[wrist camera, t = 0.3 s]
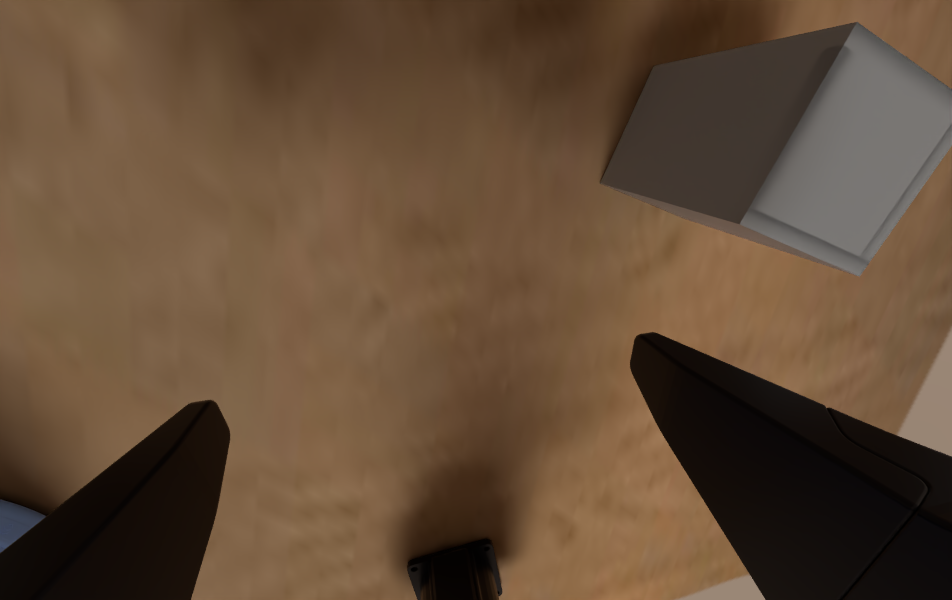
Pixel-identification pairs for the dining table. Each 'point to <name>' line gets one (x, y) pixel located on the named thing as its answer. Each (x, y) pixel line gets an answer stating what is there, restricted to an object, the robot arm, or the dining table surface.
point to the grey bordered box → (789, 142)
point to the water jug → (15, 522)
